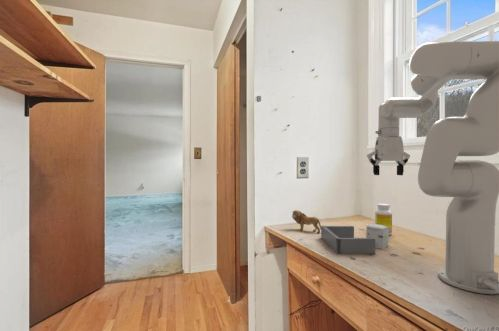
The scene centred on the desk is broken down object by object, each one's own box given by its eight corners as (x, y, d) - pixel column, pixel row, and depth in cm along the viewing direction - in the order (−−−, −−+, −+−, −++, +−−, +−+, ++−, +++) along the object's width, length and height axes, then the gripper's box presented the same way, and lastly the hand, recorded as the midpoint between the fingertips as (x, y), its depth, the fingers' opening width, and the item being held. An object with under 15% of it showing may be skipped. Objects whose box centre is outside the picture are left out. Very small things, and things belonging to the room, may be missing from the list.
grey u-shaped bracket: (375, 253, 86) (375, 239, 86) (337, 253, 86) (337, 238, 86) (352, 238, 104) (352, 225, 104) (321, 238, 104) (321, 225, 104)
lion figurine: (290, 230, 116) (290, 210, 116) (293, 227, 120) (293, 209, 120) (324, 234, 110) (324, 213, 110) (325, 231, 115) (325, 211, 114)
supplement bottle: (394, 236, 108) (394, 205, 108) (377, 235, 109) (377, 205, 109) (388, 231, 114) (389, 203, 114) (373, 231, 116) (373, 202, 116)
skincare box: (365, 245, 96) (365, 225, 96) (372, 241, 100) (372, 223, 100) (382, 249, 91) (383, 228, 91) (389, 245, 95) (389, 226, 95)
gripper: (372, 132, 100) (371, 175, 100) (415, 132, 101) (415, 175, 101) (363, 134, 108) (363, 174, 108) (403, 134, 108) (403, 174, 108)
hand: (388, 175), depth 104 cm, fingers open, 9 cm apart
